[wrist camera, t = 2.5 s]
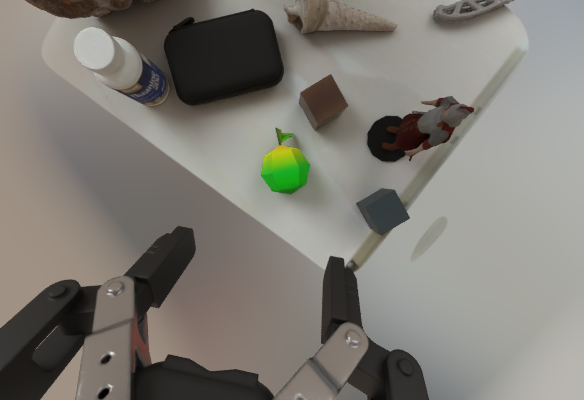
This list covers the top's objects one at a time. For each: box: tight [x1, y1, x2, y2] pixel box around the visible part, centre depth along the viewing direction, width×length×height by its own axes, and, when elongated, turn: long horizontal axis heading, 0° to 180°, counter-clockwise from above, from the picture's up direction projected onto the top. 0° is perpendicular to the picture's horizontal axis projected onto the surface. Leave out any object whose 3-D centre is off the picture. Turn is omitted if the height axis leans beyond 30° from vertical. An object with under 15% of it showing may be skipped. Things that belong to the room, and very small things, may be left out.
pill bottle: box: [74, 27, 170, 106], centre depth 27 cm, size 5×5×10 cm
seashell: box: [284, 0, 398, 34], centre depth 30 cm, size 4×16×4 cm, turn 90°
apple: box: [261, 128, 310, 194], centre depth 31 cm, size 7×6×9 cm
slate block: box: [357, 188, 410, 235], centre depth 33 cm, size 4×4×4 cm
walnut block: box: [299, 74, 348, 130], centre depth 31 cm, size 4×4×4 cm
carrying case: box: [164, 9, 284, 106], centre depth 31 cm, size 11×3×15 cm
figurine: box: [368, 96, 474, 161], centre depth 26 cm, size 7×7×15 cm
